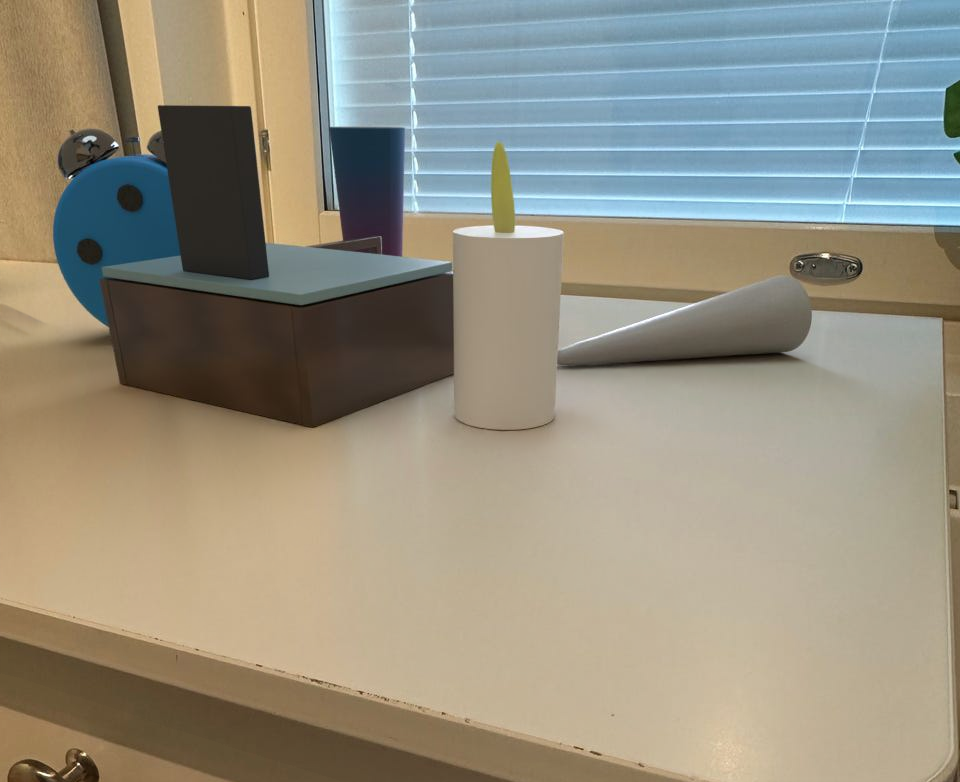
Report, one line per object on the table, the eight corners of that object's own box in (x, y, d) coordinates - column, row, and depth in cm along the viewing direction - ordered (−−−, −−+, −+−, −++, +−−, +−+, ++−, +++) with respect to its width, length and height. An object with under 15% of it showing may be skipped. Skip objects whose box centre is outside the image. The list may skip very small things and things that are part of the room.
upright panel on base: (102, 276, 57) (68, 104, 53) (268, 251, 69) (253, 106, 64) (301, 305, 50) (283, 106, 45) (452, 271, 61) (451, 108, 56)
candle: (577, 414, 56) (595, 140, 48) (505, 436, 52) (511, 142, 44) (505, 394, 59) (511, 138, 52) (433, 413, 56) (428, 139, 48)
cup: (327, 301, 88) (314, 126, 80) (383, 293, 92) (375, 126, 84) (367, 311, 83) (357, 127, 76) (424, 303, 87) (420, 127, 80)
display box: (119, 383, 61) (98, 278, 57) (378, 315, 82) (374, 235, 78) (312, 427, 53) (301, 308, 49) (544, 339, 74) (548, 251, 70)
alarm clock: (251, 329, 76) (227, 128, 69) (237, 345, 71) (209, 130, 63) (97, 328, 76) (56, 127, 68) (72, 345, 71) (24, 128, 63)
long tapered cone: (589, 323, 59) (813, 275, 65) (545, 318, 65) (755, 274, 71) (596, 408, 62) (811, 355, 68) (553, 396, 67) (755, 348, 73)
